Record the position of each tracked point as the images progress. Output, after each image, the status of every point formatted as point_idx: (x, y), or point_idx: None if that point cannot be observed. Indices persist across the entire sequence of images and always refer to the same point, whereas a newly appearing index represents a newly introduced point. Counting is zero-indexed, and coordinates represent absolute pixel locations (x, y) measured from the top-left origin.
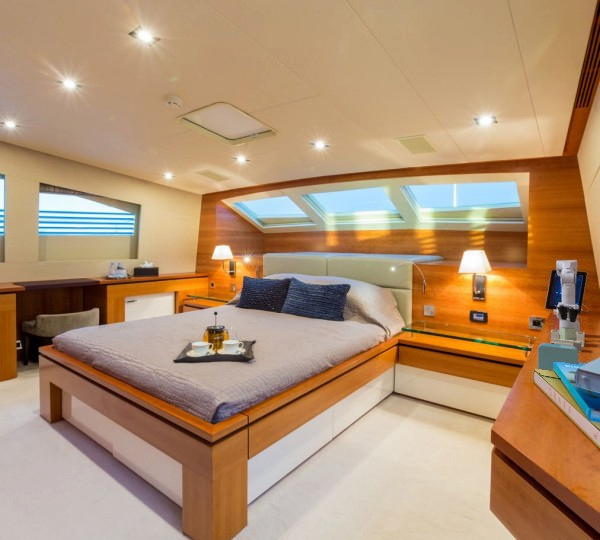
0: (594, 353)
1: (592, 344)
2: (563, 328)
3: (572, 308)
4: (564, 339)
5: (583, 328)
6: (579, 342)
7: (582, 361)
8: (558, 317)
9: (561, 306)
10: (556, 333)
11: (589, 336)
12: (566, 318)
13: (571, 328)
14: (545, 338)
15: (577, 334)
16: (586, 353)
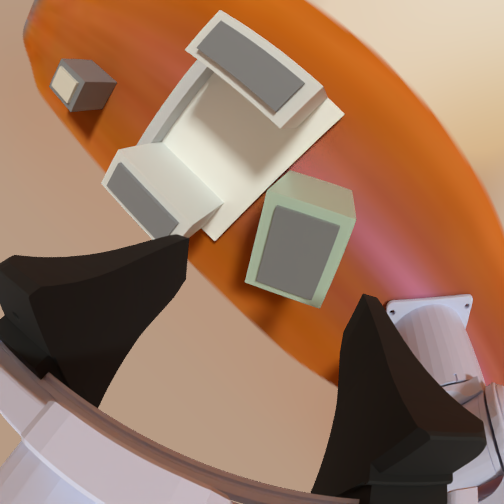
0: (61, 121)
1: None
2: (294, 198)
3: (16, 337)
4: (295, 174)
5: None
6: (52, 83)
7: (25, 37)
8: (488, 385)
9: (400, 490)
10: (197, 44)
11: None
12: (343, 344)
13: (263, 256)
14: (396, 106)
15: (116, 155)
16: None
